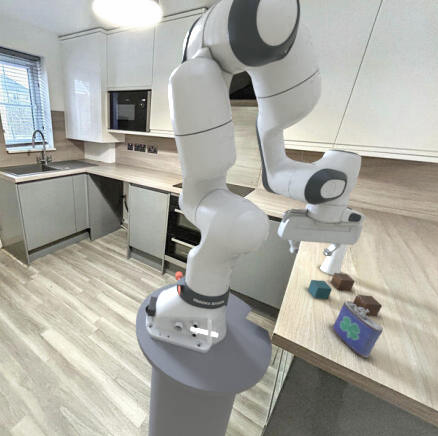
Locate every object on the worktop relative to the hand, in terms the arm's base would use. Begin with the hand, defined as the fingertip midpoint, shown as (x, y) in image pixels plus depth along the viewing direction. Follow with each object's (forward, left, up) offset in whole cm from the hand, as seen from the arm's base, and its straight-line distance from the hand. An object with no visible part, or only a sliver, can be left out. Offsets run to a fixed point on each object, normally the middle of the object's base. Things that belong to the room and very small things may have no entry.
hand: (310, 253), depth 70 cm
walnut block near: (+16, -5, -14) cm, 22 cm away
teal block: (+6, 0, -14) cm, 16 cm away
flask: (+4, -18, -15) cm, 23 cm away
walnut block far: (+16, +6, -14) cm, 22 cm away
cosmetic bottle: (+18, +15, -15) cm, 28 cm away
